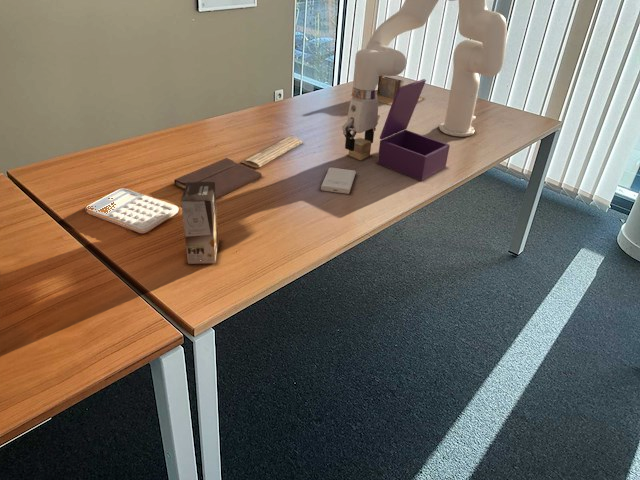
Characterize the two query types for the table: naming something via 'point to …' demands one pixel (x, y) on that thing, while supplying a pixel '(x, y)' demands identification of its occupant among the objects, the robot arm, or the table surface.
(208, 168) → the notebook
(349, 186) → the hard drive
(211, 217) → the coffee box
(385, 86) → the architectural model on board
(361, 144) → the block
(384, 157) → the purple lidded box
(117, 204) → the calculator
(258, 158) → the newspaper
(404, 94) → the lid
